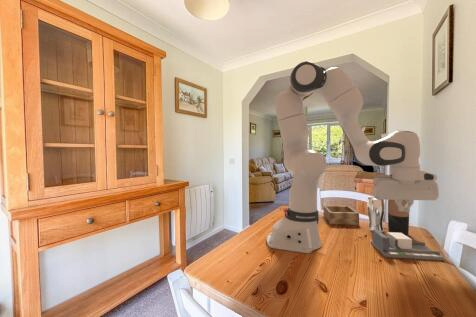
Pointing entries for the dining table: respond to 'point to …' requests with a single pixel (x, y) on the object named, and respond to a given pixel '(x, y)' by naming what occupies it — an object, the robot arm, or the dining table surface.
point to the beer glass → (375, 213)
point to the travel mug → (397, 218)
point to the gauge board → (412, 252)
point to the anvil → (381, 240)
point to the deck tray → (341, 215)
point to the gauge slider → (399, 240)
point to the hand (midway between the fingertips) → (403, 211)
